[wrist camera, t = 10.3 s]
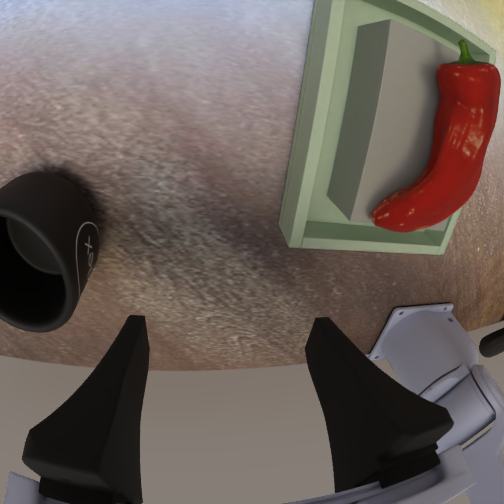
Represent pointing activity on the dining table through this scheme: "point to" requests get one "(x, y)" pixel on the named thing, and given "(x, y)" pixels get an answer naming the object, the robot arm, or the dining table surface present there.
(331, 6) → the tray
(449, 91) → the vegetable
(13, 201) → the mug
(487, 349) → the dark grey handheld tool
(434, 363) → the robot arm
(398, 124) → the grey block
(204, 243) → the dining table surface
